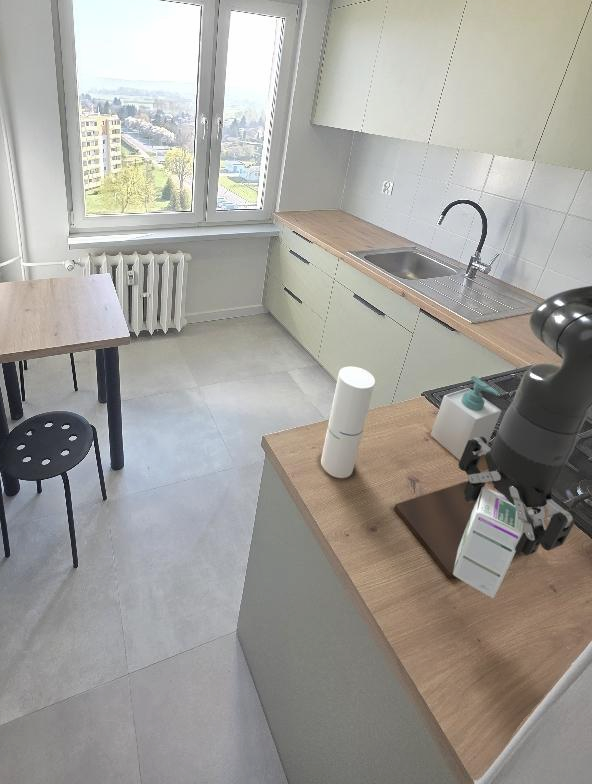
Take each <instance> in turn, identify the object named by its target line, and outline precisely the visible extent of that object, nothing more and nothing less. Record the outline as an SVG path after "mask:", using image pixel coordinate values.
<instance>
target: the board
mask: <svg viewBox="0 0 592 784" xmlns="http://www.w3.org/2000/svg"><path fill="white" fill-rule="evenodd" d="M467 482H468V480H467V481H463V482H461V483H458V484H455V485H451V486H447V487H445V488H442V489H439V490H436V491H433V492H430V493H426V494H423V495H420V496H417V497H414V498H411V499H407V500H404V501H401V502H397V503H395V505H394V507H393V510H394V511H395V512H396V514H397V515H398V517H399V518H400V519H401V520H402V522H403V523H404V524H405V525H406V526H407V528H408V529H409V531H410V532H411V533H412V534H413V536H414V537H415V538H416V540H417V541H418V542H419V543H420V544H421V546H422V547H423V548H424V550H425V551H426V552H427V554H429V556H430V557H431V559H432V560H433V561H434V562H435V564H436V565H437V566H438V567H439V568H440V570H441V571H442V572H443V573H444V575H445V577H446V578H447V579H451V578H453V577H455V576H454V575H453V570H454V566H455V561H456V556H457V551H458V547H459V544H460V542H461V539H462V536H463V534H464V531H465V529H466V526H467V524H468V521H469V518H470V516H471V513H472V511H473V508H474V505H475V503H476V501H475V502H472V503H468V502H467V501H466V500H465V496H466V495H465V494H464V490H465V487H466V485H467Z"/></svg>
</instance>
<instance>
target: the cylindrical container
mask: <svg viewBox="0 0 592 784" xmlns="http://www.w3.org/2000/svg"><path fill="white" fill-rule="evenodd" d="M337 375H338V376H337V380H336V385H335V390H334V395H333V399H332V404H331V408H330V409H331V410H330V414H329V420H328V425H327V429H326V434H325V439H324V444H323V448H322V453H321V458H320V464H321V467H322V469H323V470H324V471H325V472H326V473H327V474H328V475H330V476H331V477H335V478H338V479H345V478H349V477H350V476H351V475H352V474H353V471H354V468H355V463H356V459H357V456H358V451H359V448H360V444H361V439H362V435H363V432H364V428H365V424H366V419H367V416H368V411H369V408H370V404H371V400H372V395H373V392H374V388H375V384H376V379H375V377H374V375H373V374H372V373H370V372H369V371H368V370H366V369H364V368H361V367H358V366H352V365H351V366H350V365H349V366H344V367H342V368H340V369H339V371H338V374H337Z"/></svg>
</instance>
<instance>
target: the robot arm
mask: <svg viewBox="0 0 592 784" xmlns="http://www.w3.org/2000/svg"><path fill="white" fill-rule="evenodd" d="M529 328H530V330H531V332H532V334H533V335H534V336H535V338H537V339H538V340H539V341H540V342H541V343H542V344H544V345H545V347H547V348H549V349H550V350H551V351H552V352H553V353H555V354H556V355H557V356H559V357H560V358H561V360H562V363H561V365H560V366H559V365H555V364H551V363H537V364H536V363H535V364H533V365H531V366H529V367H528V368H527V369H526V370H525V372H524V373H523V375H522V377H521V380H520V382H519V384H518V387H517V389H516V391H515V395H514V397H513V399H512V401H511V403H510V405H509V406H508V408H507V409H506V411H505V413H504V415H503V416H502V418H501V420H500V425H499V427H498V430H497V432H496V435H495V436H494V440H493V442H492V444H491V447H490V446H489V444H488V445H486V444H487V440H486V439H485V438H484V437H477V438H474V439H471V440H468V442H467V445H466V447H465V449H464V452H463V454H462V457H461V459H460V460H459V462H458V468H459V469H460V471H462V472H465V473H466V475H467V476H466V478H467V481H468V482H467V481H466V482H467V485H466V487H465V490H464V494H465V495H466V496H465V500H466V501H467V502H468V503H472V502H475V501H476V500H477V498H478V495H479V493H480V491H481V488H482V486H483V487H485V486H486V483H489V482H491V483H492V485H493V488H494V489H495V490H496V492H498V493H500V494H502V495H504V496H505V497H506V498H507V499H508V501H509V502H510V503H512V504H513V505H514V506H515V507H516V511H517V515H518V518H519V519H520V520H522V523H523V527H524V530H523V531H524V532H523V534H522V536H521V538H520V540H519V542H518V544H517V546H516V548H515V550H516V553H518V555H519V556H523V555H524V556H529V555H531V554H534V553H537V551H538V548H539V547H540V545H541V547H542V549H544V550H545V551H551V550H554V549H556V548H558V547H561V546H563V545H564V543H565V541H566V539H567V538H568V537H569V534H570V532H571V530H572V528H573V526H574V524H575V523H576V521H577V518H578V515H577V513H576V512H575V511H574V510H573V509H571V508H567V509H564V508H563V507H562V506H561V505H559V504H558V503H556V501H554V499H553V495H552V492H553V489H554V487H555V486H556V484H557V483H558V481H559V478H560V477H561V475H562V473H563V471H564V469H565V467H566V465H567V463H568V461H569V459H570V457H571V456H572V454H573V451H574V449H575V447H576V445H577V443H578V439H579V435H580V431H581V429H582V428H583V425H584V423H585V422H586V419H587V417H588V416H589V413H591V410H592V285H588V286H581V287H577V288H576V287H575V288H571V289H567V290H562V291H561V292H558V293H555V294H553V295H551V296H549V297H547V298H545V299H544V300H543V301H541V302H540V303H539V304H537V306H535V308H534V309H533V311H532V312H531V314H530V317H529ZM482 456H484V458H485V463H486V466H487V469H484V470H480V469H479V467H478V465H479V463H480V460H481V458H482ZM528 508H530V509H528ZM545 509H546V510H547V517H546V512H545ZM545 517H546V520H547V521H548V524H547V526H546V521H545Z"/></svg>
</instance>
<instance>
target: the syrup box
mask: <svg viewBox="0 0 592 784" xmlns="http://www.w3.org/2000/svg"><path fill="white" fill-rule="evenodd" d="M524 531H525V530H524V527H523V523H522V520H520V519H519V518H518V515H517V511H516V507H515V506H514V505H513V504H512V503H510V502H509V501H508V499H507V498H506V497H505V496H504V495H503V494H502V493H500V492H498V491H495V490H492V489H489V488H488V487H485V486H484V487H483V486H482V488H481V491H480V493H479V495H478V498H477V500H476V503H475V505H474V508H473V511H472V513H471V516H470V518H469V521H468V524H467V526H466V529H465V531H464V534H463V536H462V539H461V542H460V544H459V547H458V551H457V556H456V561H455V566H454V570H453V575H454V576H453V577H456V578H457V579H459V580H461V581H462V582H464V583H465V584H467V585H468V586H470V587H472V588H473V589H475V590H477V591H479V592H480V593H482V594H484V595H486V596H488V597H490V598H491V599H495V597H496V595H497V593H498V591H499V589H500V587H501V585H502V583H503V580H504V579H505V577H506V574H507V572H508V571H509V568H510V566H511V564H512V561H513V559H514V557H515V554H516V553H517V551H516V550H515V548H516V546H517V544H518V542H519V540H520V538H521V536H522V534H523V533H524Z"/></svg>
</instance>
